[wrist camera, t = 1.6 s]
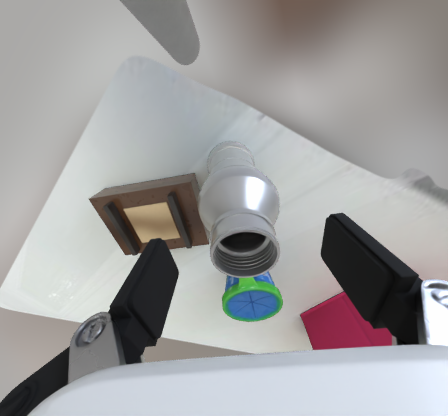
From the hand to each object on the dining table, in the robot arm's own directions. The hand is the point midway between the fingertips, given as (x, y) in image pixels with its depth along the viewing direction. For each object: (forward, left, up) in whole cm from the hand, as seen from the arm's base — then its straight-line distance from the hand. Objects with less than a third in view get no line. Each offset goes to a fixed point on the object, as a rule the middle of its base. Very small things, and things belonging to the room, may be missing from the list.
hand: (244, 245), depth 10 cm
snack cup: (+23, 0, -19) cm, 30 cm away
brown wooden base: (+7, -14, -19) cm, 25 cm away
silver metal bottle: (0, 0, -19) cm, 19 cm away
